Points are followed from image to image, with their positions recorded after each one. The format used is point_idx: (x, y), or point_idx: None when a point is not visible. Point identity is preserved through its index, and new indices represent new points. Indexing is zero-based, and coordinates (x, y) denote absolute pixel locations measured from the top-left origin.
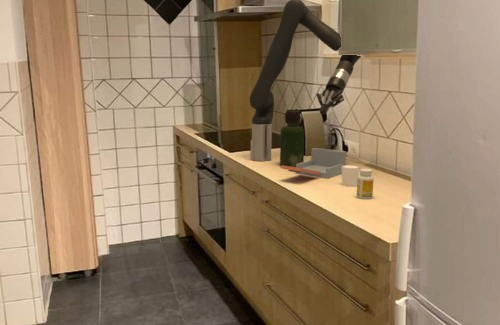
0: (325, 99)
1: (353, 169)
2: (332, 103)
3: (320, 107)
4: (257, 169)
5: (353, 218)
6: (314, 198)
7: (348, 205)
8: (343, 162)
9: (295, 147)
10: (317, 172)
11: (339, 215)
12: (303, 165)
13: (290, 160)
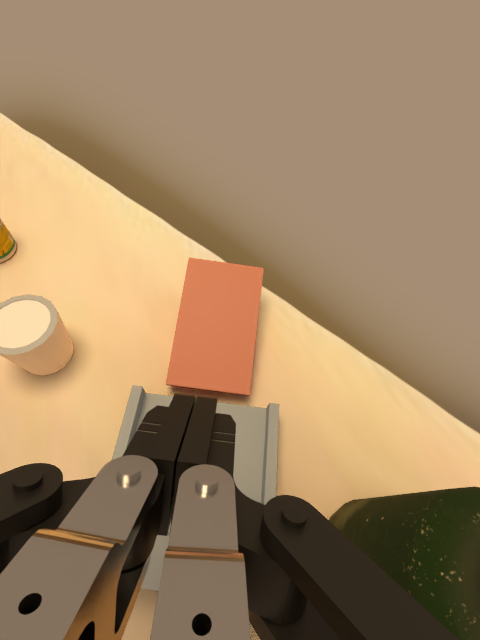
0: (178, 548)
1: (8, 301)
2: (12, 486)
3: (234, 446)
4: (419, 406)
5: (17, 138)
6: (115, 204)
7: (32, 188)
8: None
9: (371, 513)
10: (169, 365)
11: (44, 142)
12: (265, 447)
13: (360, 500)
